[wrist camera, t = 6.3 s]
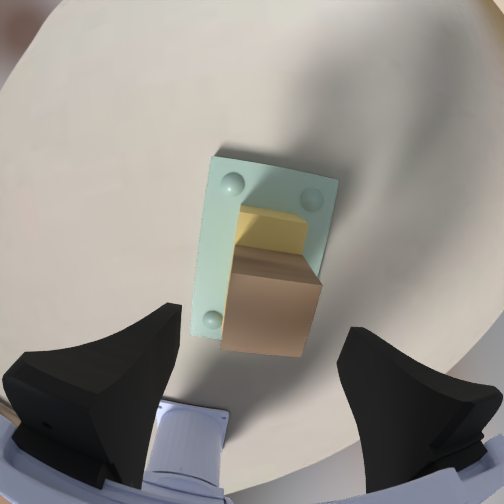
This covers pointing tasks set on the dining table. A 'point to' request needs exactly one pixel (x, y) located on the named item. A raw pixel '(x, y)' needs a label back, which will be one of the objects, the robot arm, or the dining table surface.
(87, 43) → the dining table surface
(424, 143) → the dining table surface
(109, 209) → the dining table surface
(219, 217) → the plate
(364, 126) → the dining table surface
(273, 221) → the ochre brick
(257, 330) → the walnut block
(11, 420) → the tan wooden shallow tray
